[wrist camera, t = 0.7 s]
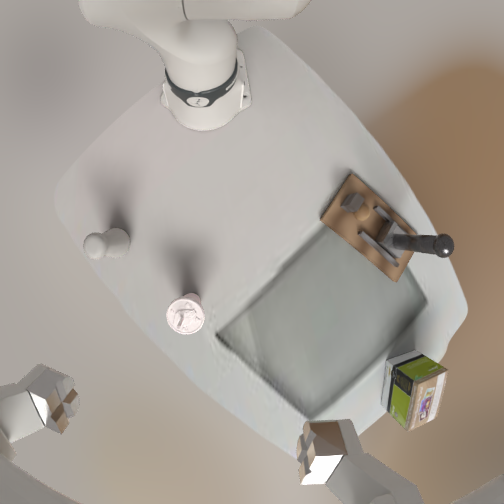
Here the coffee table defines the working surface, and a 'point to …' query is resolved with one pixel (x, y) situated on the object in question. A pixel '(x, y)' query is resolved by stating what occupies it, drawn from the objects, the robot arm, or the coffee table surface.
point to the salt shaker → (107, 244)
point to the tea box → (413, 389)
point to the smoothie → (186, 314)
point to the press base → (365, 224)
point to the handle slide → (412, 242)
